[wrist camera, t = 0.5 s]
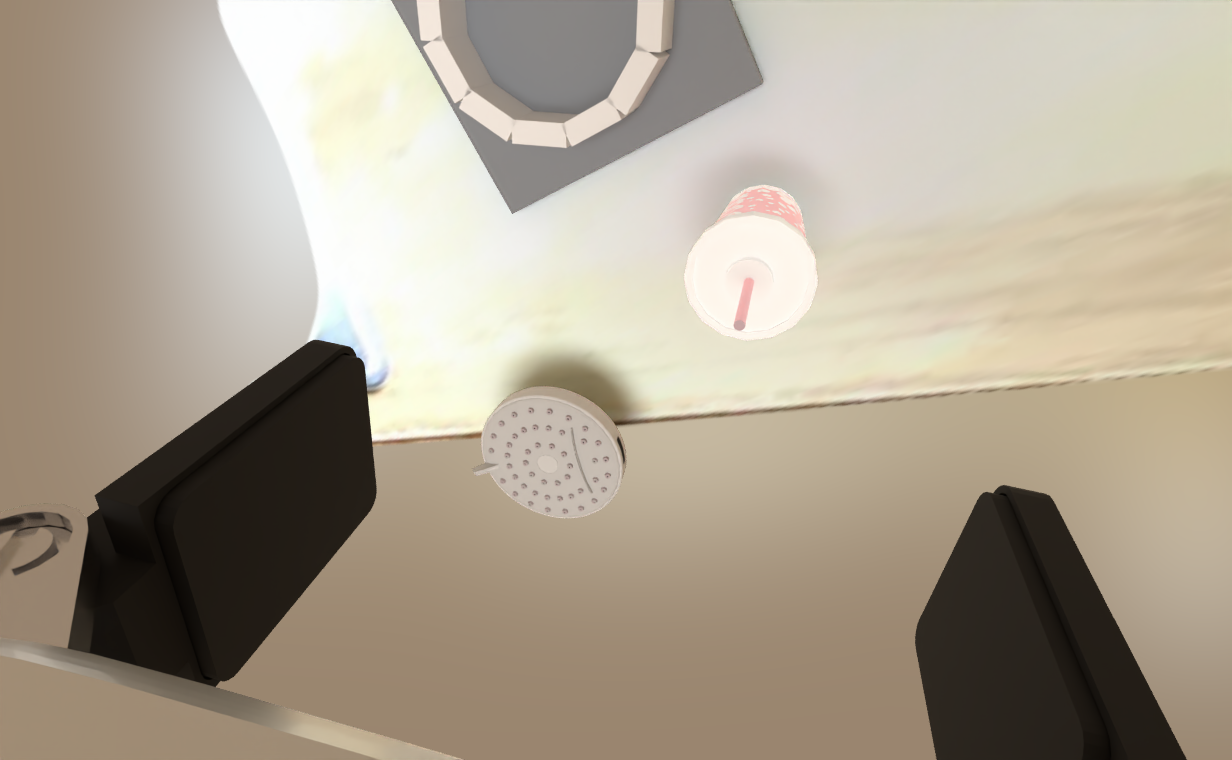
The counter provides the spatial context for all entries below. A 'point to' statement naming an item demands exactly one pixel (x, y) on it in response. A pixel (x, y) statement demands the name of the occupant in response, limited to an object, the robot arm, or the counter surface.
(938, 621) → the robot arm
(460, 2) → the ring holder
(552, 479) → the showerhead
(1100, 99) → the counter surface
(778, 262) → the beverage cup
